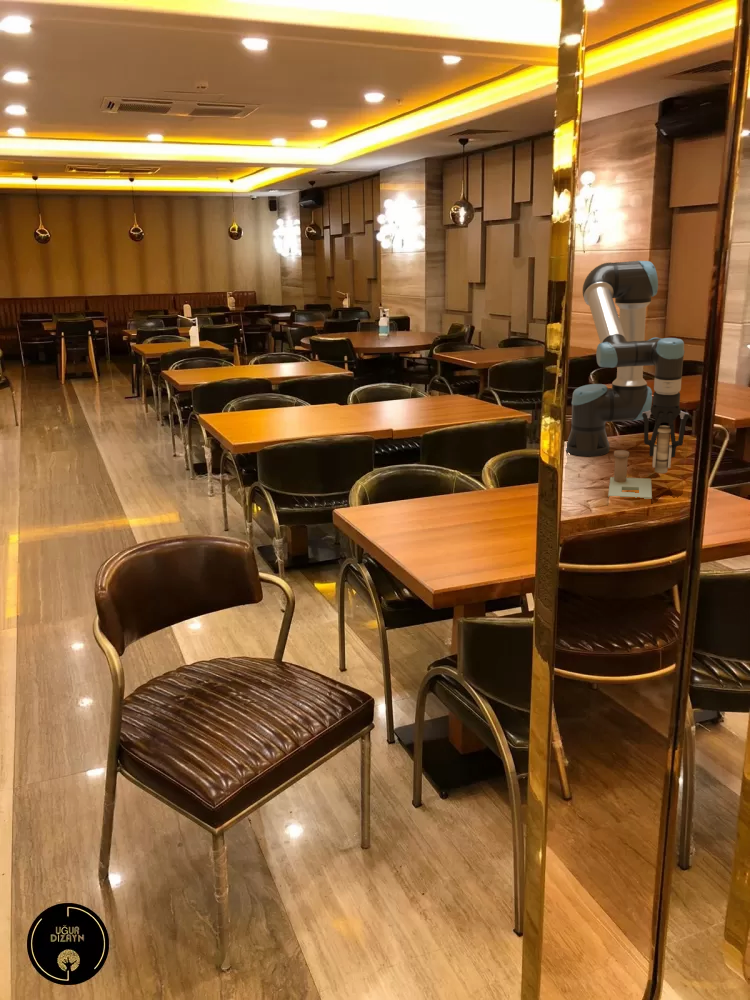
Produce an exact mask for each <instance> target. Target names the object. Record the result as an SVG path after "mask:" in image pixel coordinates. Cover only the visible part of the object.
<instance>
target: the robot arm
mask: <svg viewBox="0 0 750 1000" xmlns="http://www.w3.org/2000/svg"><path fill="white" fill-rule="evenodd" d="M658 289H659V278H658V273H657V270H656V267H655V265H654V264H653V262H651V261H650V260H633V261H620V262H619V261H616V262H604V263H601V264H599V265H598V266H596V267H594V268H593V269H592V270H590V272H589V273H588V274H587V276H586V278H585V280H584V281H583V285H582V297H583V300H584V302H585V304H586V305H587V306H589V309H590V313H591V316H592V319H593V322H594V326H595V329H596V333H597V336H598V339H599V343H598V344H597V347H596V353H595V354H596V363H597V365H598V367H600V368H611V369H613V368H616V369H617V370H616V371H617V372H616V378H615V379H614V380H613V381H612V384H611V388H608V387H607V385H606V384H602V383H591V384H585V385H582V386H579V387H577V388H575V389H573V392H572V399H571V427H570V428H571V430H570V433H569V434H568V435H569V436H568V437H567V440H568V442H567V441H566V443H567V450H566V449H565V451H566V453H568V454H571V455H573V456H579V457H598V456H603V455H606V454H608V453H609V452H610V443H609V439H608V436H607V432H606V424H607V422H609V423H610V422H629V421H630V422H635V421H641V420H643V422H644V426H643V429H644V430H643V444H644V445H647V446H649V452H648V453H649V457H652V463H651V464H652V468H653V469H655V463H656V450H657V444H656V442H657V434H658V429H659V427H660V426H661V424H663V423H666V424H668V426H669V427H670V429H671V432H670V443H671V444H669V454H668V467H667V469H671V465H672V458H675V457H676V450H677V449H676V448H678V446H683V444H684V437H685V430H686V424H687V421H688V419H689V417H690V415H689V412H687V411H682V409H681V408H680V403H681V402H680V400H681V393H680V391H681V389H682V377H683V367H684V365H683V364H684V355H685V342H684V341H683V339H681V338H677V337H664V338H661V337H652V338H650V339H648V340H647V339H646V319H647V318H646V316H647V315H646V314H647V307H648V306H649V305H650V303H652V297H654V296H656V295H657V294H658ZM614 301H615V302H614ZM616 306H617V307H618V308H619V314H618V311H617V308H616ZM645 339H646V340H645ZM645 366H655V367H654V369H655V371H654V380H653V381H654V382H653V390H654V391H652V388H651V387H650V386H648V382H647V381H646V380H645V378H643V377H644V374H643V373H644V367H645ZM652 395H653V396H652ZM651 415H652V416H653V418H654V419H655V423H654V428H653V431H652V434H651V439H649V419H650V418H651ZM678 416H680V417H679V418H680V426H679V433H678V440H677V439H676V435H675V426H674V421H675V420H676V419H677V418H678Z"/></svg>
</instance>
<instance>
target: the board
mask: <svg viewBox="0 0 750 1000" xmlns="http://www.w3.org/2000/svg"><path fill="white" fill-rule="evenodd" d="M613 456H614V470H613V471H614V472H613V476H610V477H609V484H608V485H609V486H608V495H607V497H609V496H620V497H635V498H637V497H640V498H644V499H652V500H653V496H652V495H653V494H652V491H653V490H652V478H646V477H645V478H642V477H641V478H640V477H627V475H628V471H627V470H628V457H629V456H630V451H629V450H625V449H617V450H613ZM622 490H639V493H635V492H622Z"/></svg>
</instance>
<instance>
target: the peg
mask: <svg viewBox="0 0 750 1000" xmlns="http://www.w3.org/2000/svg"><path fill="white" fill-rule="evenodd" d="M670 432H671V429H670V427H669V425H660V427H659V429H658V434H657V438H656V445H657V450H656V463H655V468H654V472H655V473H657V474H666V473H668V454H669V445H670V443H671V435H670Z"/></svg>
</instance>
